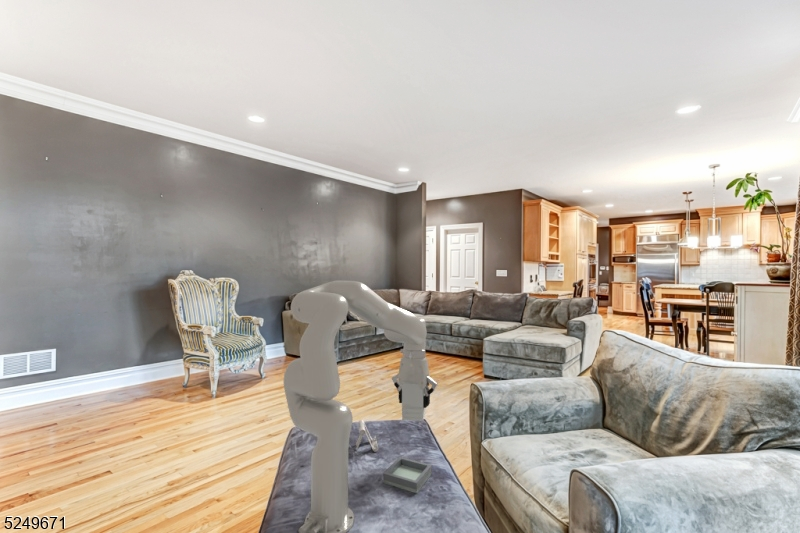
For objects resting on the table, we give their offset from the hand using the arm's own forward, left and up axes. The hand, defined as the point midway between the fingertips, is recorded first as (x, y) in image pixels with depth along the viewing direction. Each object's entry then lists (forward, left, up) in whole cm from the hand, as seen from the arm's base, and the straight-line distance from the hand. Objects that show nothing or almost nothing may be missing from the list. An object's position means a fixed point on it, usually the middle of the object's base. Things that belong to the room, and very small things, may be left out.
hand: (413, 404), depth 130 cm
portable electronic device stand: (+1, +20, -20) cm, 28 cm away
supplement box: (0, 0, -5) cm, 5 cm away
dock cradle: (-11, -3, -20) cm, 22 cm away
